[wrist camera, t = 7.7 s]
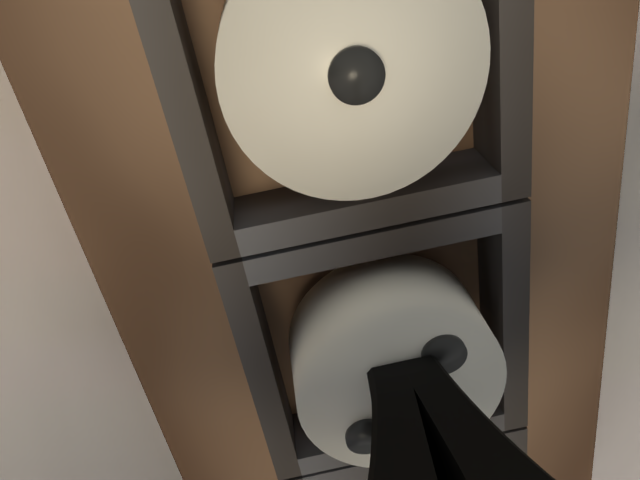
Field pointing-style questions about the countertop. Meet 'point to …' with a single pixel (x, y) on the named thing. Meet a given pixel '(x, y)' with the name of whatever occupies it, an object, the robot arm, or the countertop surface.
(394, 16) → the button one
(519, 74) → the button panel
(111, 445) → the countertop surface
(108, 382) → the countertop surface
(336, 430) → the button three
